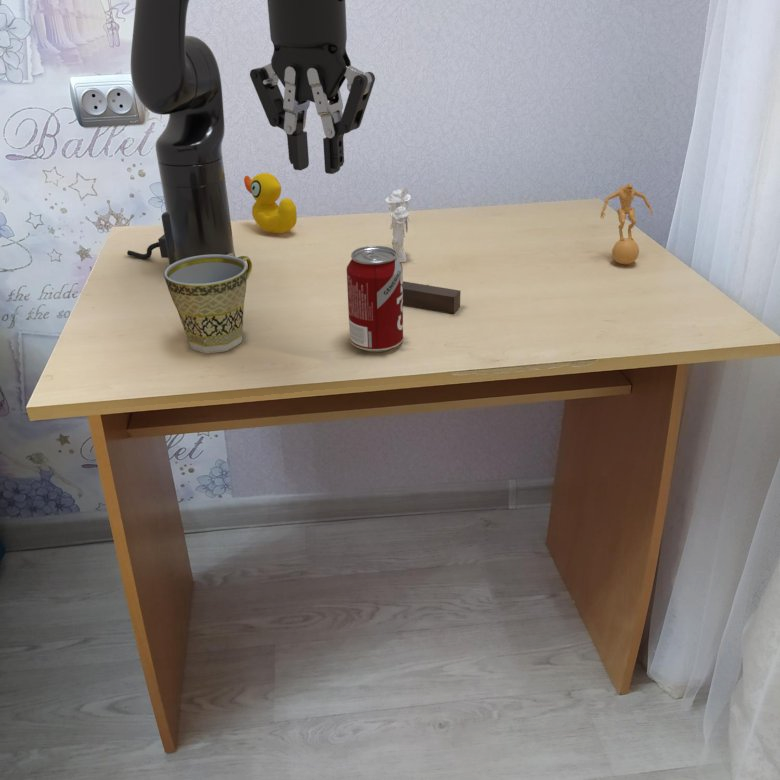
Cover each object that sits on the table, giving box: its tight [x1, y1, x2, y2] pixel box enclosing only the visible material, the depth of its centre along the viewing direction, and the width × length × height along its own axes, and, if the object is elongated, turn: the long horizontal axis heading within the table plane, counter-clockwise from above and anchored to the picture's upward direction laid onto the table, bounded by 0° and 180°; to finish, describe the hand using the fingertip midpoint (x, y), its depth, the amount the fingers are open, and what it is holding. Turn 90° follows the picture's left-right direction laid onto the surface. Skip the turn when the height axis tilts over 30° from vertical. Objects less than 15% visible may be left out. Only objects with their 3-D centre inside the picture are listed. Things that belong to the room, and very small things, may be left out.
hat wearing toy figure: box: [385, 187, 412, 263], centre depth 121 cm, size 9×4×12 cm, turn 4°
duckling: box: [243, 172, 298, 234], centre depth 133 cm, size 11×5×10 cm, turn 51°
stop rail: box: [403, 280, 461, 315], centre depth 108 cm, size 12×2×2 cm, turn 65°
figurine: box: [600, 183, 654, 266], centre depth 118 cm, size 8×6×12 cm
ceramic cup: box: [163, 254, 253, 354], centre depth 98 cm, size 13×10×10 cm
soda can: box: [346, 245, 404, 353], centre depth 95 cm, size 7×7×12 cm
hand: (317, 169), depth 83 cm, fingers open, 3 cm apart
